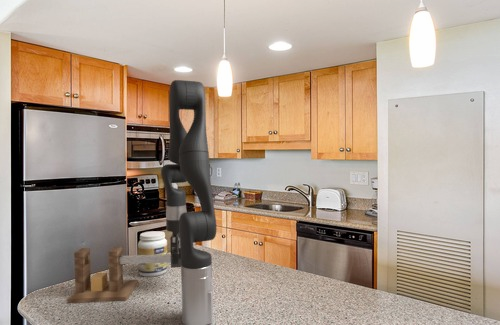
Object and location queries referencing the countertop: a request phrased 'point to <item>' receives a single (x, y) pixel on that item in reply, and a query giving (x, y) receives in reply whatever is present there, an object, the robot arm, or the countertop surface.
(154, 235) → the supplement tub
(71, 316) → the countertop surface
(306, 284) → the countertop surface
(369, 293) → the countertop surface
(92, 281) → the ochre spacer
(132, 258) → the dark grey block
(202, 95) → the robot arm
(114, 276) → the wooden shaft stand
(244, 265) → the countertop surface
